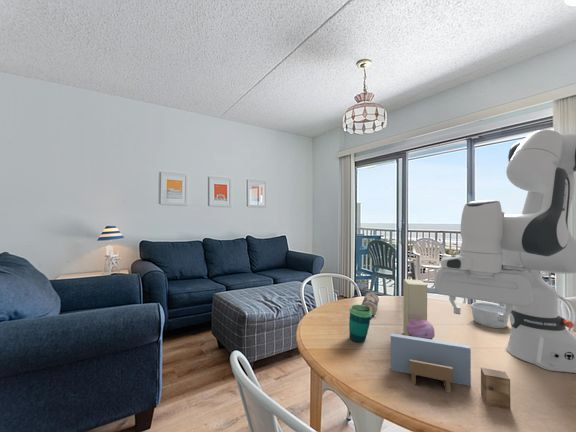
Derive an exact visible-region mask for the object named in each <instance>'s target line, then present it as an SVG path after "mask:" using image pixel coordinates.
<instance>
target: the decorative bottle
mask: <svg viewBox="0 0 576 432" xmlns="http://www.w3.org/2000/svg"><path fill="white" fill-rule="evenodd" d="M379 301H380V298H379V295H378V294H377V293H375V292H371V291H370V292H369V291H368V292H366V293H365V294H364V298H363V301H362V302H361V305H365V306H368V307H369V308H370V312H371V313H372V316H374V315H375V314H377V311H378V305H379Z"/></svg>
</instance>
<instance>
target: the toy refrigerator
mask: <svg viewBox="0 0 576 432" xmlns="http://www.w3.org/2000/svg"><path fill="white" fill-rule="evenodd" d="M402 296H403V299H402V300H403V301H402V302H403V303H402V304H403V307H402V308H403V309H402V310H403V315H402V316H403V320H402V323H403V325H402V326H403V329H402V331H403V332H402V333H403V335H405V336H409V333H408V332H407V329H406V325H407V323H408V322H409V321H410V320H411V319H421V320H426V321H428V284H427V283H426V282H424V281H423V280H421V279H409V278H406V279H403V295H402Z"/></svg>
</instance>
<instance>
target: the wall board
mask: <svg viewBox="0 0 576 432" xmlns="http://www.w3.org/2000/svg"><path fill="white" fill-rule="evenodd" d="M471 354H472V353H471V347H470V345H469V344H462V343H456V342H449V341H443V340H437V339H432V340H431V339H425V338H418V337H412V336H405V334H396V333H390V370H391V371H394V372H400V373H404V374H409V375H410V377H411V384H412V385H414V386H415V385H416V384H417V376H419V377H422V378H428V379H433V380H438V381H442V382H443V385H444V389H445V392H448V393H451V383H453V384H458V385H462V386H463V385H464V386H469V387H471V386H472V381H471V380H472V374H471V372H472V371H471V370H472V369H471V368H472V367H471V365H472V362H471V360H472V359H471Z"/></svg>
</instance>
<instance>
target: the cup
mask: <svg viewBox="0 0 576 432" xmlns="http://www.w3.org/2000/svg"><path fill="white" fill-rule="evenodd" d="M348 311H349V321H348V325H349V327H348V329H349V330H348V331H349V334H348V335H349V339H350V341H352V342H354V343H361V344H362V343H364V342H366V339H367V336H368V332H369V328H370V324H371V318H372V316H373V315H372V313H371V312H370V308H369V307H368V306H365V305H362V304H354V305H351V307H350V308H349V309H348Z"/></svg>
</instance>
